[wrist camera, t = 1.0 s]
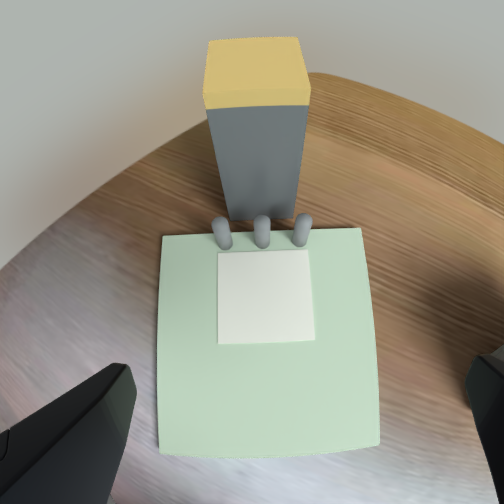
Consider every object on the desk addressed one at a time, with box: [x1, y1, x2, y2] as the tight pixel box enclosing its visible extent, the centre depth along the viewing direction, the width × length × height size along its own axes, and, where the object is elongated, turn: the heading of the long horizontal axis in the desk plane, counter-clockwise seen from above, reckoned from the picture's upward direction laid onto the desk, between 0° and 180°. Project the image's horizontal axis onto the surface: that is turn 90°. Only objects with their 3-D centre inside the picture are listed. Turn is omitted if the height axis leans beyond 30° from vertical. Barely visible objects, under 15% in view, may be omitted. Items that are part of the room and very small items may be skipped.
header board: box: [157, 213, 380, 458], centre depth 18 cm, size 15×14×4 cm
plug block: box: [203, 37, 311, 221], centre depth 19 cm, size 4×4×12 cm
